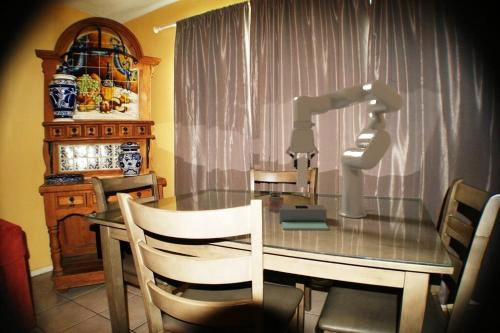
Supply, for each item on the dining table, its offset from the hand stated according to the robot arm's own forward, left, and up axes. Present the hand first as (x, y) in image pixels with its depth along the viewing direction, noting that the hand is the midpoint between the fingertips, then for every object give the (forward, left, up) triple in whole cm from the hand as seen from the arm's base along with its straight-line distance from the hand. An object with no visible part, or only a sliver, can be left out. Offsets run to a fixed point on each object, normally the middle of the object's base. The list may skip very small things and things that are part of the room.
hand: (301, 168), depth 122 cm
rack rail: (0, -2, -23) cm, 24 cm away
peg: (0, 0, -8) cm, 8 cm away
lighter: (+11, -18, -24) cm, 32 cm away
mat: (0, +7, -23) cm, 24 cm away
